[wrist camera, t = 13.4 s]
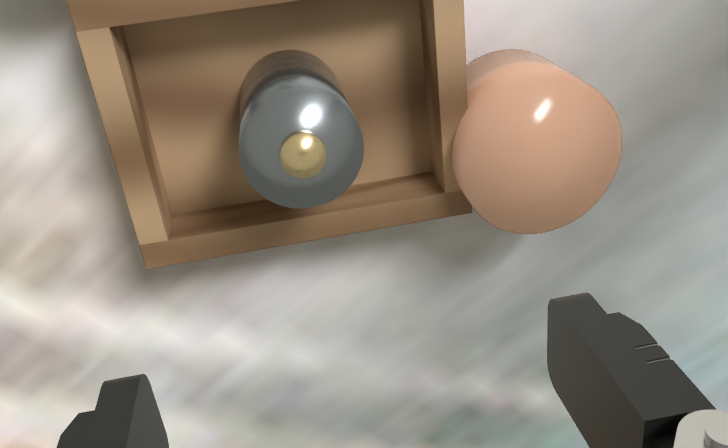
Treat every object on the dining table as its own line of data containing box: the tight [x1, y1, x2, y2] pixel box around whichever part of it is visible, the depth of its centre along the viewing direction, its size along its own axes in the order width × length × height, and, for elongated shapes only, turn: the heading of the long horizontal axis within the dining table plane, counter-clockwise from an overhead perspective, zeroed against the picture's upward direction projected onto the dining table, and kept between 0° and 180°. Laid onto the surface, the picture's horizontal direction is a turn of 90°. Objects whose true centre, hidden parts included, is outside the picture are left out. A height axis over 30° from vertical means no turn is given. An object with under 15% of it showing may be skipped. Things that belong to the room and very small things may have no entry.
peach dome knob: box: [452, 49, 622, 234], centre depth 31 cm, size 7×7×5 cm
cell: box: [239, 49, 364, 209], centre depth 27 cm, size 4×4×7 cm
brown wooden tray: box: [66, 0, 472, 269], centre depth 30 cm, size 11×15×4 cm
